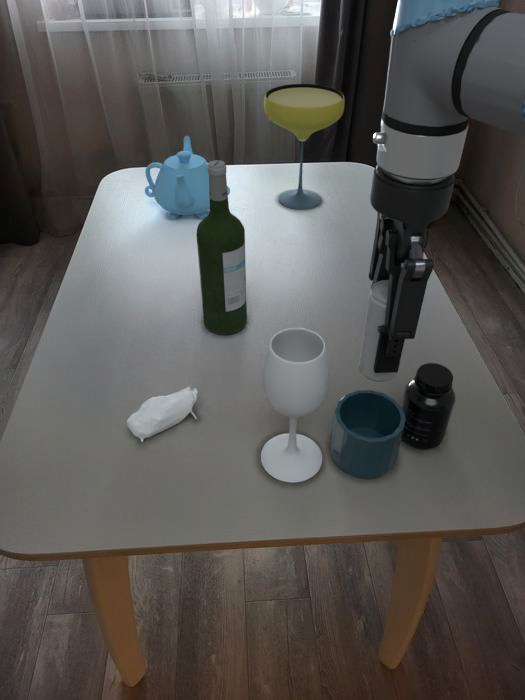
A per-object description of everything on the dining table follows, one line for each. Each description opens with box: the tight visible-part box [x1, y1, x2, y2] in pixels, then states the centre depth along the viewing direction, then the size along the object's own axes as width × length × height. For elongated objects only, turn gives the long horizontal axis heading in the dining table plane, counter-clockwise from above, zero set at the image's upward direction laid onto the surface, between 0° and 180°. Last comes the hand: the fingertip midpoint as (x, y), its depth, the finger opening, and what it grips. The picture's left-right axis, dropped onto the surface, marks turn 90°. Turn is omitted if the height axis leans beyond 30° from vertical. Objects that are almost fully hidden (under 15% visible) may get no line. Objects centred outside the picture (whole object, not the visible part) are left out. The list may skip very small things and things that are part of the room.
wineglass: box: [260, 327, 330, 484], centre depth 72 cm, size 9×9×21 cm
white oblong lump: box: [126, 386, 199, 443], centre depth 82 cm, size 5×7×10 cm
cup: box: [330, 389, 406, 480], centre depth 77 cm, size 9×9×8 cm
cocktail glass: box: [263, 83, 346, 210], centre depth 132 cm, size 18×18×25 cm
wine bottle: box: [195, 159, 248, 336], centre depth 92 cm, size 8×8×30 cm
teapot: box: [144, 135, 231, 220], centre depth 132 cm, size 16×20×14 cm
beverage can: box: [358, 280, 398, 383], centre depth 65 cm, size 5×5×12 cm
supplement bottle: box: [400, 362, 456, 450], centre depth 78 cm, size 7×7×12 cm
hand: (380, 354), depth 67 cm, fingers closed on beverage can, 5 cm apart
